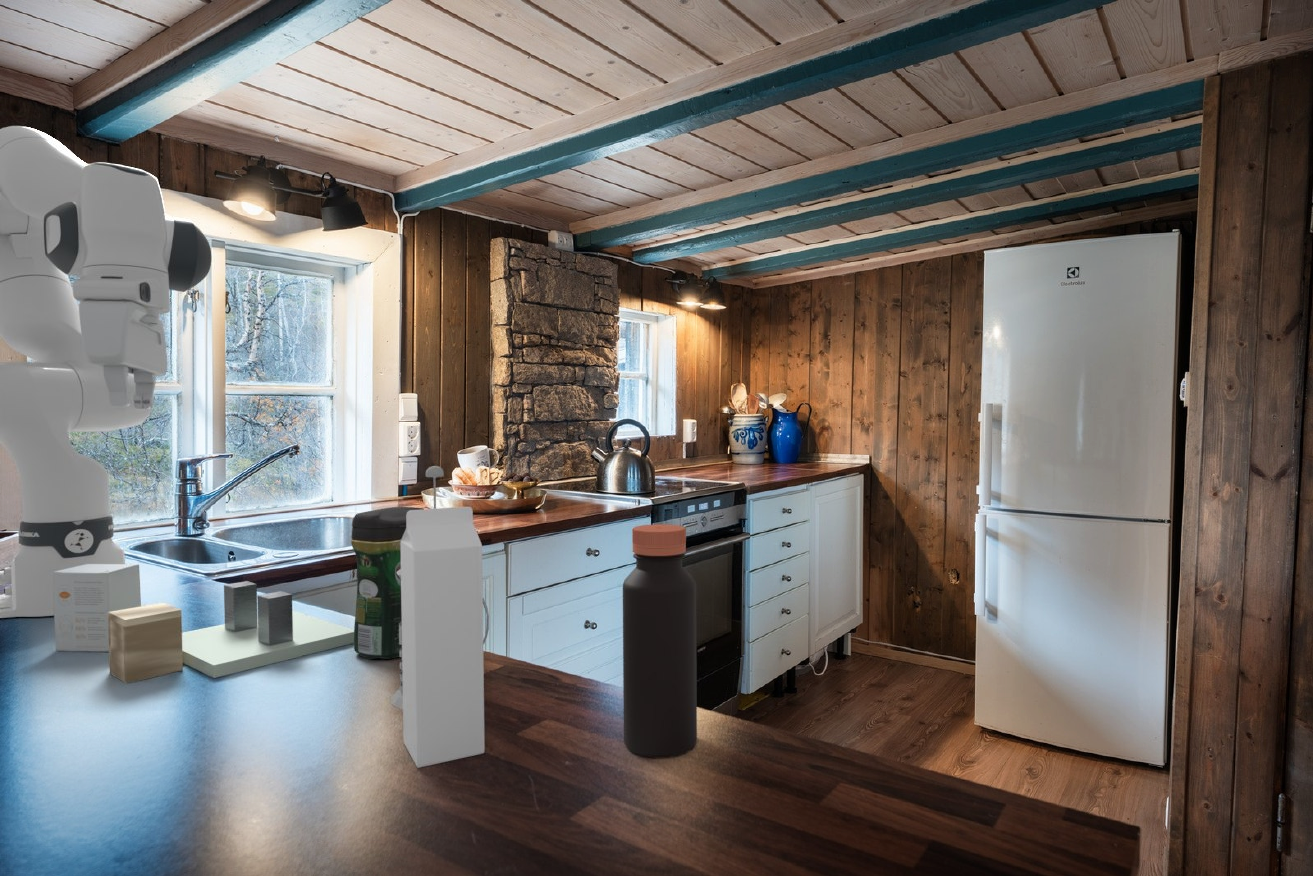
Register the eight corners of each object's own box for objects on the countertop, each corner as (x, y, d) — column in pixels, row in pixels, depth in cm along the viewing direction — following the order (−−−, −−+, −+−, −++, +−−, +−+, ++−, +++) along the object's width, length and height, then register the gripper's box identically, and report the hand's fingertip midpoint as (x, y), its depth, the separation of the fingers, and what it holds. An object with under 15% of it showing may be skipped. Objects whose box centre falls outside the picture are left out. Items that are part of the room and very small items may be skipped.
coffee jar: (403, 636, 106) (401, 502, 106) (443, 645, 102) (441, 505, 101) (341, 655, 98) (339, 509, 97) (382, 665, 94) (380, 513, 93)
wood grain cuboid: (109, 672, 92) (107, 612, 91) (164, 660, 96) (162, 602, 96) (126, 683, 88) (125, 620, 88) (182, 670, 93) (181, 609, 92)
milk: (485, 754, 69) (483, 510, 68) (416, 769, 66) (413, 514, 66) (466, 729, 75) (464, 502, 74) (401, 743, 72) (399, 506, 71)
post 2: (258, 653, 99) (257, 595, 99) (282, 647, 101) (280, 591, 101) (269, 658, 97) (268, 598, 97) (293, 652, 99) (292, 594, 99)
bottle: (645, 723, 76) (644, 521, 75) (708, 736, 73) (708, 525, 72) (609, 750, 70) (608, 530, 69) (677, 766, 67) (675, 535, 66)
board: (156, 649, 101) (155, 638, 101) (292, 620, 115) (292, 610, 115) (214, 678, 90) (213, 665, 90) (357, 642, 104) (357, 631, 104)
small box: (143, 640, 105) (141, 563, 105) (110, 653, 100) (108, 572, 99) (89, 639, 106) (87, 562, 106) (53, 651, 100) (51, 571, 100)
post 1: (225, 639, 105) (223, 584, 105) (247, 634, 107) (246, 581, 107) (234, 643, 103) (233, 587, 103) (257, 638, 106) (256, 584, 105)
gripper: (124, 308, 104) (128, 411, 104) (65, 279, 85) (71, 405, 85) (177, 309, 106) (182, 409, 106) (132, 281, 87) (138, 403, 87)
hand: (132, 407), depth 96 cm, fingers open, 8 cm apart
